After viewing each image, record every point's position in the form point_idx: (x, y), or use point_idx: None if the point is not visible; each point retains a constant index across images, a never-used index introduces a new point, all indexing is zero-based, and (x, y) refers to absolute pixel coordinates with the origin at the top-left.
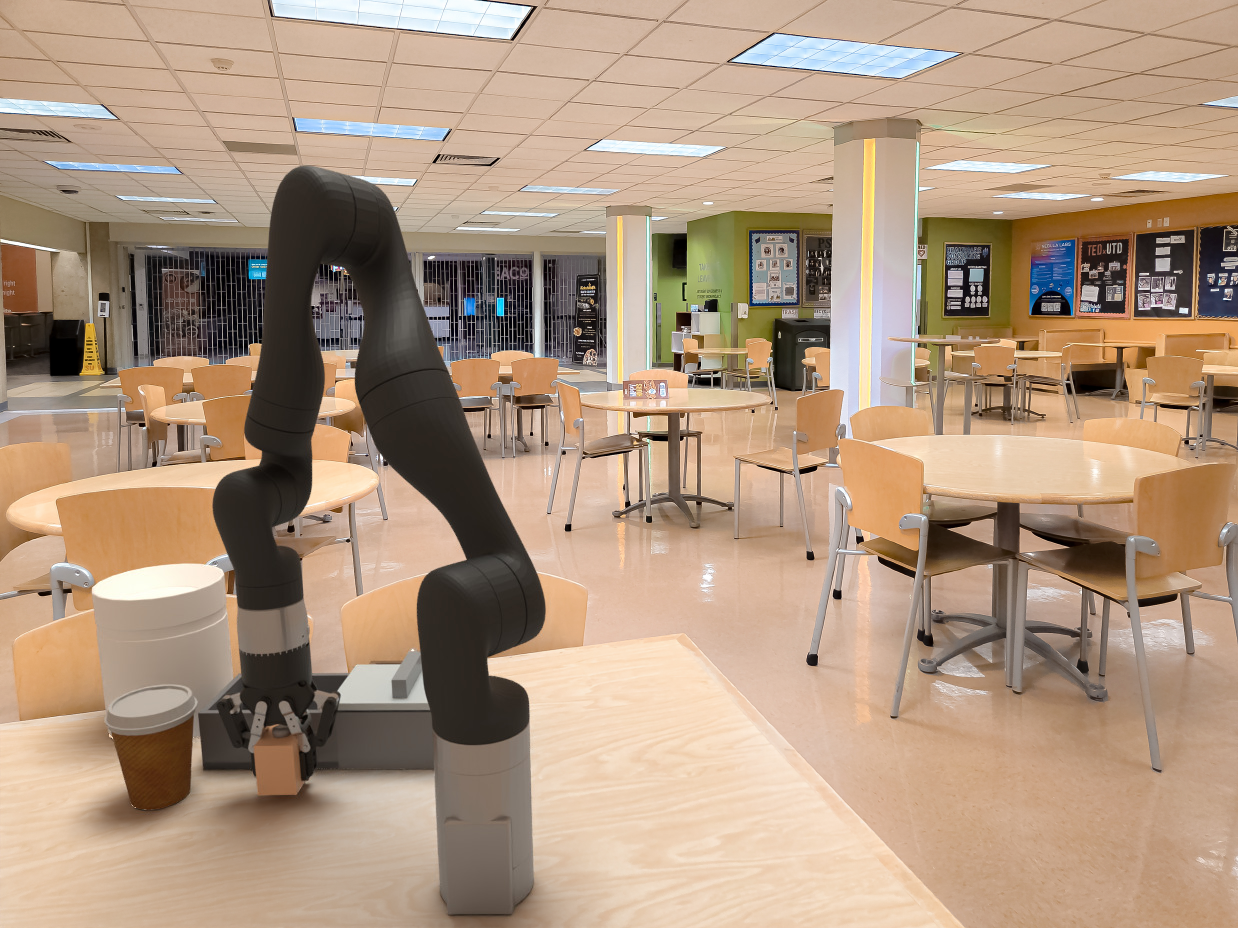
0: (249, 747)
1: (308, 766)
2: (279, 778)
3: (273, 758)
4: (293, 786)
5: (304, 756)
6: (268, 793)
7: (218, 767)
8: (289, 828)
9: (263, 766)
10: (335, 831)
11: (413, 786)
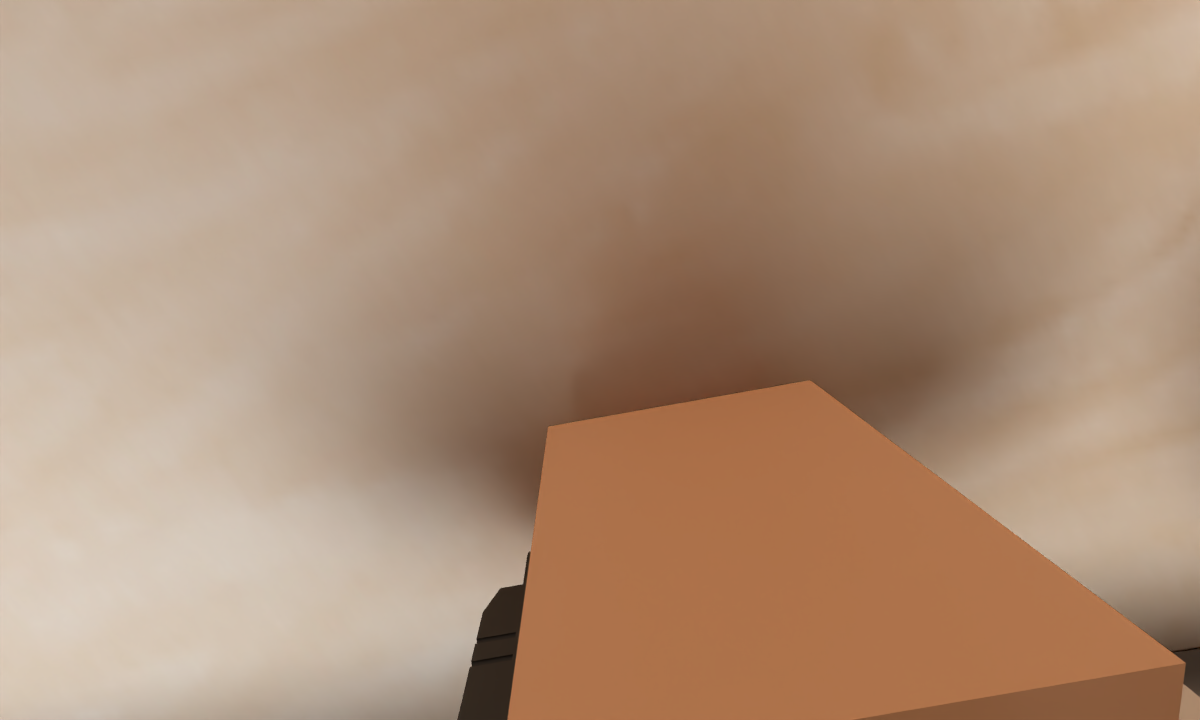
0: (1185, 699)
1: (508, 637)
2: (673, 459)
3: (771, 568)
4: (563, 448)
5: (507, 703)
6: (740, 396)
7: (1187, 661)
8: (480, 184)
9: (853, 491)
10: (179, 199)
11: (37, 675)
